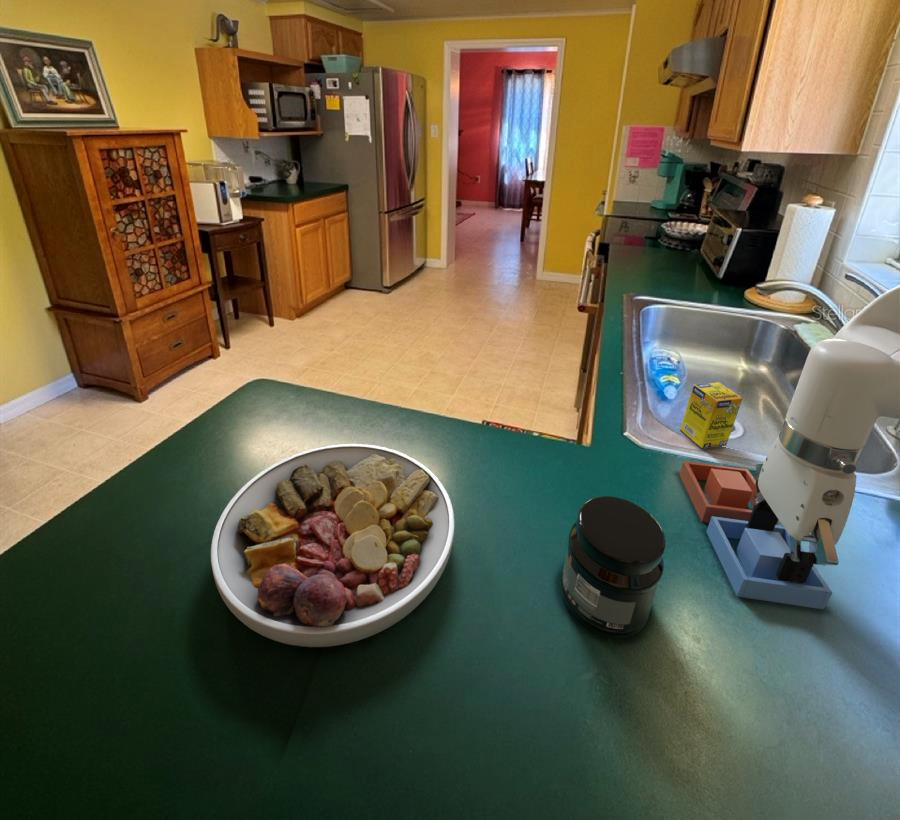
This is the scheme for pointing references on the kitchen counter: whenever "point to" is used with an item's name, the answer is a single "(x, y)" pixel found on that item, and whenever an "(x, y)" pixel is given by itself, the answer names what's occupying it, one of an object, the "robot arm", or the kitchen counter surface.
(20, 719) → the kitchen counter surface
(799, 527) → the robot arm
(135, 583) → the kitchen counter surface
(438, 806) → the kitchen counter surface
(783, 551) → the blue block
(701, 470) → the terracotta bin
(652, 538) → the supplement container
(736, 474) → the terracotta block
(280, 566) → the bowl
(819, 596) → the blue bin
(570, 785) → the kitchen counter surface
